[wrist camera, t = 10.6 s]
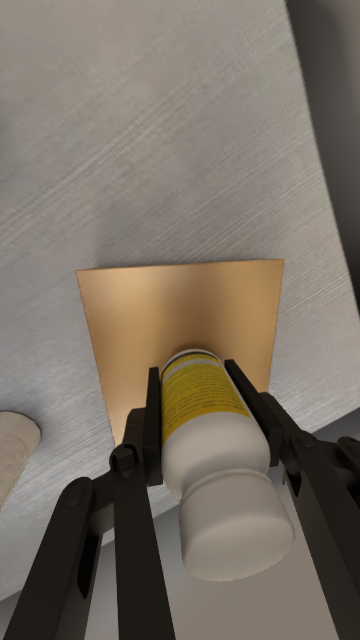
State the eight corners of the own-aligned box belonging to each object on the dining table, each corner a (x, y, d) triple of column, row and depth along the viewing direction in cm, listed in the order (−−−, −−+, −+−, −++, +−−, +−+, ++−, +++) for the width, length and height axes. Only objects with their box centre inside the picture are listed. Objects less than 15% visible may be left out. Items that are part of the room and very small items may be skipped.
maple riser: (123, 418, 22) (115, 450, 19) (94, 268, 17) (75, 270, 13) (246, 402, 24) (263, 429, 20) (258, 259, 18) (284, 258, 14)
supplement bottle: (146, 372, 15) (124, 562, 5) (200, 334, 14) (277, 472, 5) (184, 411, 16) (217, 606, 7) (234, 378, 16) (339, 543, 7)
